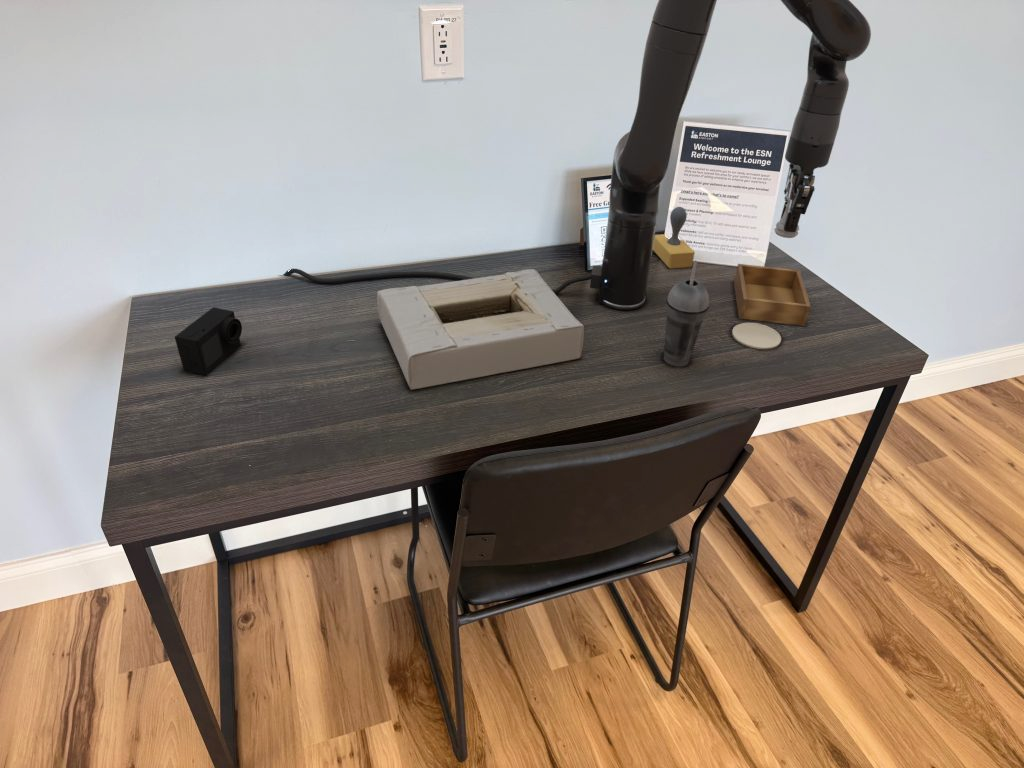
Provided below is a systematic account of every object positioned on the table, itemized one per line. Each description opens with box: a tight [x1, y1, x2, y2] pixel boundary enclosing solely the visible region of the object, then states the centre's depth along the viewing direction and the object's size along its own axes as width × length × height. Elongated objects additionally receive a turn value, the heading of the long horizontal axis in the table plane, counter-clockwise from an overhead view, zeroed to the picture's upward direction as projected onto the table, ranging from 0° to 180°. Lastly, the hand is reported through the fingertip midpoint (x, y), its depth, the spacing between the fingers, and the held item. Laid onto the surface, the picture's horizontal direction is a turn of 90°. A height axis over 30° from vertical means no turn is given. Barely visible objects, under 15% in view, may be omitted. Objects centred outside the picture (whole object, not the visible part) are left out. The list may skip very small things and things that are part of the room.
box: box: [376, 268, 585, 391], centre depth 132 cm, size 23×8×32 cm
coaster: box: [731, 322, 782, 350], centre depth 139 cm, size 9×9×1 cm
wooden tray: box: [733, 263, 812, 327], centre depth 148 cm, size 13×16×4 cm
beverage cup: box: [663, 259, 710, 367], centre depth 126 cm, size 7×7×20 cm
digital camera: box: [174, 307, 243, 376], centre depth 125 cm, size 10×5×7 cm, turn 163°
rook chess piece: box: [774, 193, 801, 239], centre depth 138 cm, size 4×4×8 cm
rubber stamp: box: [652, 206, 696, 270], centre depth 162 cm, size 10×6×12 cm, turn 13°
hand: (787, 225), depth 140 cm, fingers closed on rook chess piece, 4 cm apart
